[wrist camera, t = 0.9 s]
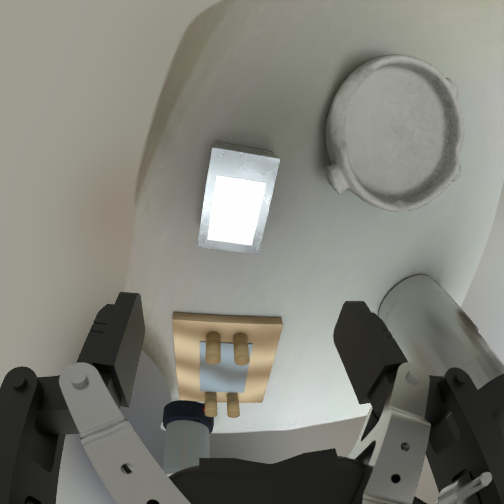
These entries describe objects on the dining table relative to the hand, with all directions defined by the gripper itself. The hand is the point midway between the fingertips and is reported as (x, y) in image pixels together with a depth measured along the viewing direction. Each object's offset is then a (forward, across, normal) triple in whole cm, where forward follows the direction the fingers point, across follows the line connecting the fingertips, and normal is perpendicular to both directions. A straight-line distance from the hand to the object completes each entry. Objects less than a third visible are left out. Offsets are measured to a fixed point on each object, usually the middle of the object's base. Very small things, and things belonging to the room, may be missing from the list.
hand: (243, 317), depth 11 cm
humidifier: (+17, +4, +36) cm, 40 cm away
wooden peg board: (+16, -1, +22) cm, 27 cm away
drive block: (+17, 0, 0) cm, 17 cm away
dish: (+17, -14, -8) cm, 23 cm away
